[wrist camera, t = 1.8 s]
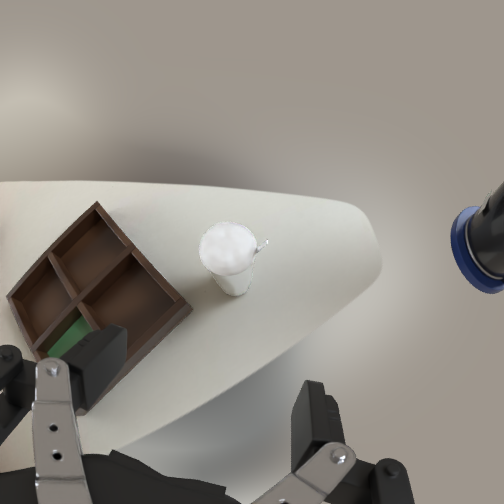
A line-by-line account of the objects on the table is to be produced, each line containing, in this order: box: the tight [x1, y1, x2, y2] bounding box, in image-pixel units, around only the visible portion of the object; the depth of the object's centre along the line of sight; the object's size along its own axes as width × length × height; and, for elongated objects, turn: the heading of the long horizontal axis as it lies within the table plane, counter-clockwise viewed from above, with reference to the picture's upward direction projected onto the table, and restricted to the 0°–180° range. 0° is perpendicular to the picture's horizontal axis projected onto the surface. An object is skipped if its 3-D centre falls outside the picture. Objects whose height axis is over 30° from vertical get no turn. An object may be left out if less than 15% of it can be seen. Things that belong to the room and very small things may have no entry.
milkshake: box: [199, 222, 268, 296], centre depth 26 cm, size 4×5×10 cm
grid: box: [6, 201, 193, 416], centre depth 29 cm, size 17×17×3 cm
